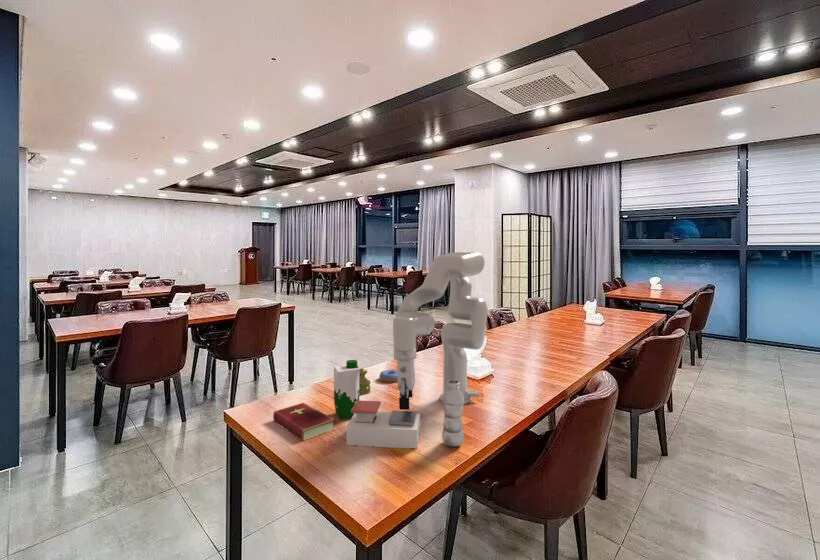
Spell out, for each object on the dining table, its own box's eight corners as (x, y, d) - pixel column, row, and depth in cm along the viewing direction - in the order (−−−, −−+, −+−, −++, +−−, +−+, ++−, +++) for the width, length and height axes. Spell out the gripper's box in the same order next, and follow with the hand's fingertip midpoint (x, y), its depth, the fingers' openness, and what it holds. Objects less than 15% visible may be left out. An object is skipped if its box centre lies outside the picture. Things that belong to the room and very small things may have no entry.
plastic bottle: (440, 439, 124) (440, 378, 122) (461, 438, 124) (461, 378, 123) (443, 450, 118) (444, 385, 116) (465, 449, 118) (466, 385, 117)
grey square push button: (416, 430, 128) (416, 411, 128) (414, 442, 120) (414, 422, 120) (392, 429, 129) (392, 410, 129) (388, 441, 121) (388, 421, 121)
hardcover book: (302, 443, 123) (302, 430, 123) (273, 422, 138) (273, 410, 138) (334, 430, 131) (334, 418, 131) (303, 412, 146) (303, 401, 146)
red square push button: (380, 420, 129) (380, 401, 129) (376, 431, 121) (376, 411, 121) (357, 419, 130) (357, 400, 130) (351, 429, 122) (351, 410, 122)
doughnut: (404, 380, 181) (403, 370, 181) (386, 385, 175) (385, 375, 175) (394, 376, 189) (393, 367, 189) (376, 381, 184) (375, 371, 184)
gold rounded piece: (367, 395, 162) (367, 372, 162) (350, 394, 164) (350, 371, 163) (372, 389, 170) (372, 367, 169) (356, 388, 171) (356, 366, 170)
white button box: (420, 430, 130) (419, 413, 130) (416, 448, 118) (416, 429, 118) (356, 427, 132) (355, 410, 132) (346, 445, 121) (346, 426, 120)
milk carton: (362, 417, 141) (361, 363, 139) (337, 421, 137) (336, 366, 136) (355, 408, 149) (355, 357, 147) (332, 412, 145) (331, 360, 144)
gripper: (413, 361, 119) (414, 414, 121) (418, 346, 136) (419, 393, 138) (389, 361, 120) (391, 414, 121) (397, 346, 137) (398, 392, 139)
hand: (406, 403), depth 130 cm, fingers open, 9 cm apart
